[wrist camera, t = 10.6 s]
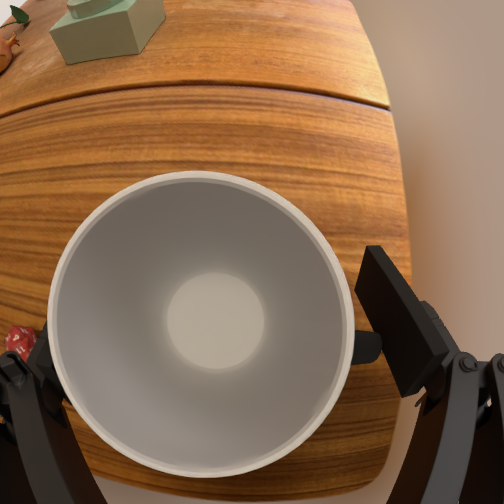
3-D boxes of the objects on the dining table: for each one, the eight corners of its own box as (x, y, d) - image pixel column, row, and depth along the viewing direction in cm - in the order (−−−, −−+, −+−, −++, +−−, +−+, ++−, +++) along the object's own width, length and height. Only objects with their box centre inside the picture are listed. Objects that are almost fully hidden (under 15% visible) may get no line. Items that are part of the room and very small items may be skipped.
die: (32, 317, 16) (6, 316, 13) (53, 348, 15) (28, 351, 12) (17, 342, 15) (-7, 343, 12) (37, 372, 15) (13, 377, 12)
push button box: (166, 17, 23) (157, -34, 15) (140, 53, 21) (122, -6, 14) (97, 27, 23) (81, -16, 15) (67, 65, 21) (42, 18, 13)
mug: (136, 374, 16) (41, 426, 6) (159, 237, 17) (84, 158, 8) (322, 403, 16) (403, 478, 6) (343, 267, 18) (443, 218, 8)
